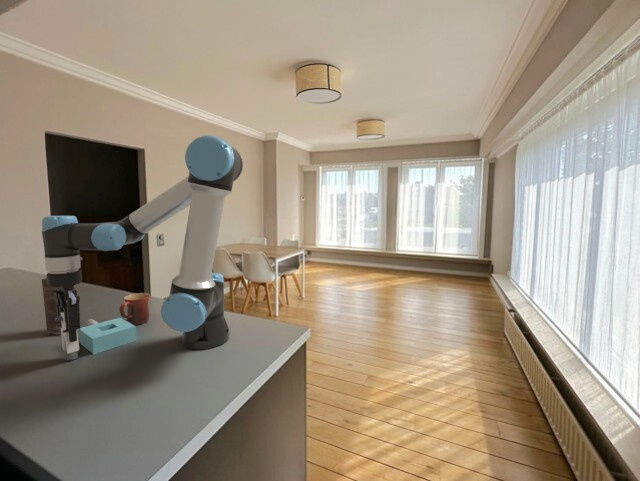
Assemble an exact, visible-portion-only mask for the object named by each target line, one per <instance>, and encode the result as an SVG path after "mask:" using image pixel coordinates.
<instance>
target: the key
mask: <svg viewBox="0 0 640 481" xmlns="http://www.w3.org/2000/svg"><path fill="white" fill-rule="evenodd" d="M81 314H82V313H80V316H81ZM55 321H57V322H58V321H61V322H62V333H63V330H66V325H65V317H64V311H63V312H61V316H58V317H56V318H55ZM63 344H64V350H63V353H64V360H65V361H72V360H76V359H77V358H78V357H79V350H78V351H75V352H72V353H68V354H67V350H66V339H65V333H63Z"/></svg>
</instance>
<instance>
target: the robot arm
mask: <svg viewBox="0 0 640 481" xmlns="http://www.w3.org/2000/svg"><path fill="white" fill-rule="evenodd" d="M184 162H185V165H186V168H187V170H188V171H189V172H188V176H186V177H185V178H184V179H182V180H180V181H178V182H177V183H175V184H174V185H172V186H171V187H170V188H168V189H167V190H165V191H164V192H162V193H160V195H157V196H156V197H154V198H153V199H152V200H150V201H148V202H146V203H145V204H144V205H141V207H139V208H138V209H136V210H134V211H133V212H132V213H130V214H129V215H127V216H125V217H124V218H123V219H122V218H121V220H118V221H111V222H100V223H96V222H95V223H80V222H79V221H78V218H77V216H75V215H46V216H44V217H43V218H42V219H41V236H42V241H43V248H44V249H43V251H44V257H43V258H44V268H45V271H46V274H45V275H46V276H45V278H47V285H48V286H49V287H57V290H54V292H53V293H54V296H55V302H56V311H57V317H58V316H61V312H63V311H64V317H65V325H66V330H63V333H65V339H66V350H67V354H68V353H72V352H75V351H78V352H79V351H80V341H79V329H80V328H81V318H80V317H81V315H80V314H81V312H80V299H81V298H80V296H79V295H78V292H77V289H75V285H78V284H81V283H82V281H83V278H82V270H81V261H83V257H82V256H81V255H80V254H81V253H80V251H103V252H108V251H118V250H121V249H122V247H123V246H125V245H133V244H136V243H137V242H139V241H141V240H143V239H144V237H145V235H146V234H148V233H149V232H151V231H153V230H155V228H157V227H159V226H160V225H162V224H163V223H165V222H166V221H168V220H170V219H171V218H172V217H174V216H176V215H177V214H179V213H180V212H181V211H184V210H185V209H186V208H187V207H189V211H188V216H187V222H186V228H185V236H184V241H183V248H182V254H181V259H180V267H179V273H178V274H177V275H176V276H174V277H172V280H171V285H170V290H169V295H168V296H167V297H166V298H165V299H164V301H163V302H162V304H161V307H160V315H161V318H162V321H163V322H164V323H165V324H166V326H167V327H169V328H170V329H172V330H174V331H176V332H180V333H182V335H181V341H182V342H181V343H182V345H183V347H185V348H188V349H191V350H206V349H208V350H209V349H214V348H216V347H219V346H221V345H224V344H225V343H226V342H228V341H229V339H230V329H229V324H228V323H227V320H226V317H225V279H224V275H223V274H221V273H218V272H213V266H214V262H215V254H216V250H217V244H218V238H219V233H220V227H221V223H222V222H221V220H222V217H223V216H222V215H223V210H224V203H225V199H226V197H227V196H229V195H230V194H231V193H232V190H233V185H234V182H235V181H237V180H238V179H239V177H241V174H242V173H243V169H244V168H243V166H244V163H243V162H244V161H243V159H242V156H241V154H240V153H239V151H238V150H237V149H236V148H234V147H233V146H231V144H230V143H228V142H227V141H226V140H225V139H223V138H220V137H217V136H214V135H201V136H198V137H197V138H195V139H193V140H192V141H191V142H190V143H189V144H188V146H187V147H186V150H185V154H184ZM58 323H60V327H62V322H61V321H58ZM63 333H62V328H61V334H60V335H61V345H62V346H61V347H62V348H61V349H62V350H63V351H64V344H63Z"/></svg>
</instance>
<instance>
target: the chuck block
mask: <svg viewBox="0 0 640 481" xmlns="http://www.w3.org/2000/svg"><path fill="white" fill-rule="evenodd" d="M85 325H86V326H82V327H80V329H78V340H79V345H81V346H83V347H84V348H85V349H87V351H89V352H90V353H91V354H92V355H96V354H97V355H98V354H100V353H102V352H106V351H109V350H112V349H115V348H118V347H122V346H125V345H127V344H130V343H133V342H137V327H136V326H137V325H133V324H131V323H129V322H128V321H127V320H125V318H123V317H117V318H113V319H109V320H105V321H102V322H98V321H97V320H95V319H93V318H89V319H87V320H86V321H85Z"/></svg>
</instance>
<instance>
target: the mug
mask: <svg viewBox="0 0 640 481" xmlns="http://www.w3.org/2000/svg"><path fill="white" fill-rule="evenodd" d="M150 298H151V294H150V293H148V292H139V293H138V292H137V293H131V294H128V295H126V296H124V297H123V300H124V302H123V303H121V304H120V305H119V314H120V316H121V318H122V319H126V321H127V322H129V323H131V324H133V325H134V326H140V325H143V324H146V323H147V322H148V321H150V316H151V315H150V300H151V299H150ZM125 307H126V313H125Z"/></svg>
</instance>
